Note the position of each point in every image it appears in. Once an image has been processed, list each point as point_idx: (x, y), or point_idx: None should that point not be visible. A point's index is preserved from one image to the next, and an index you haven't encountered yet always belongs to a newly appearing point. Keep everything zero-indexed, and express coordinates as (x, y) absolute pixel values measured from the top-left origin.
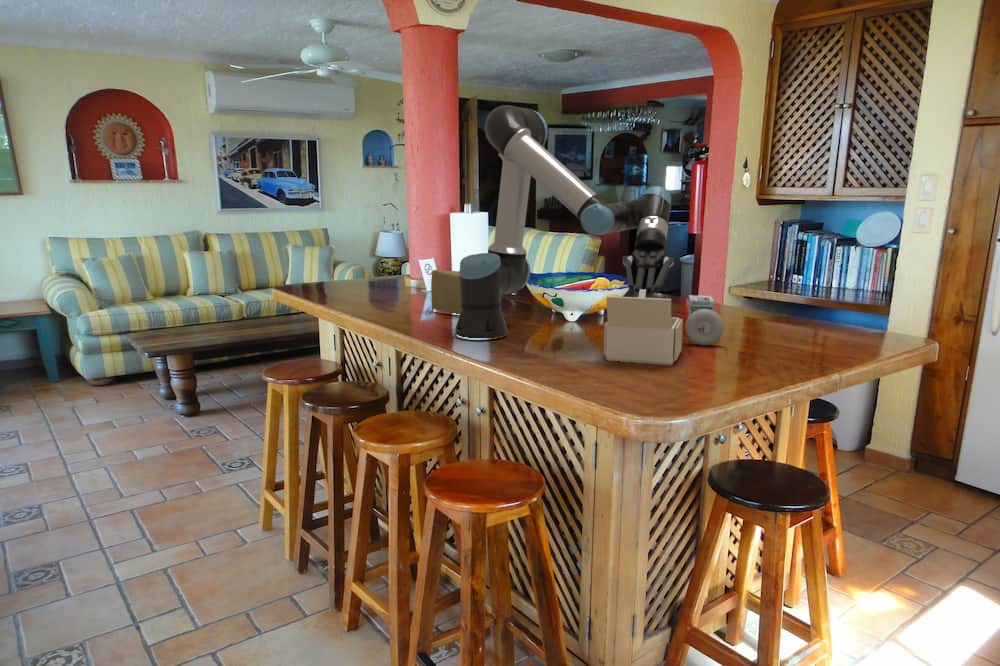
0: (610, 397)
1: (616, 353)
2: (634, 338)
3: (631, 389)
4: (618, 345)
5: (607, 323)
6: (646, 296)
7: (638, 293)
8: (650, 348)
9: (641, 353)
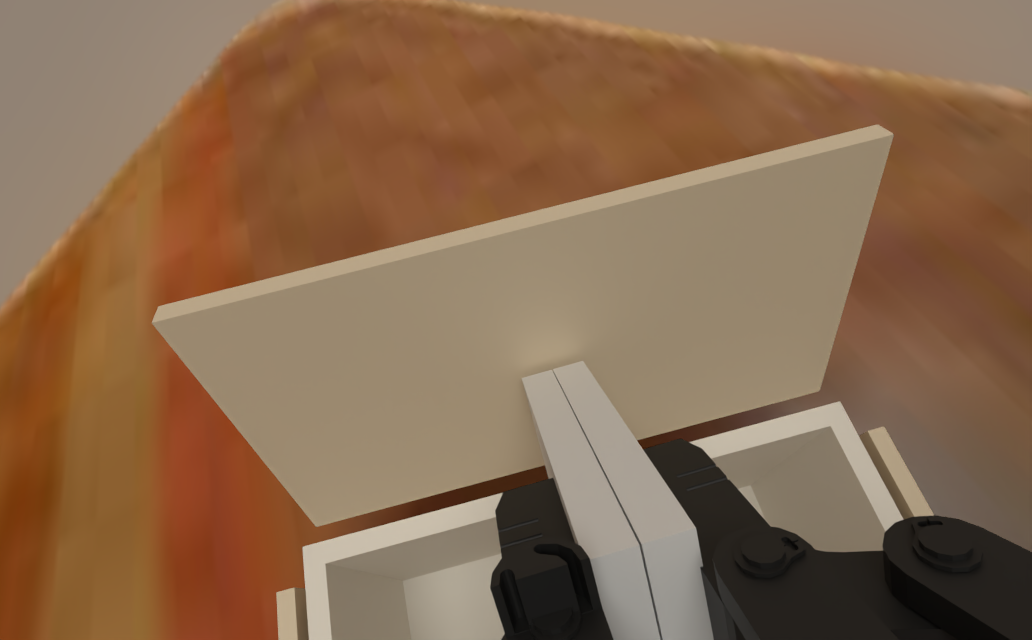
0: (460, 62)
1: None
2: None
3: (433, 150)
4: None
5: (890, 475)
6: (556, 531)
7: (694, 522)
8: None
9: None
